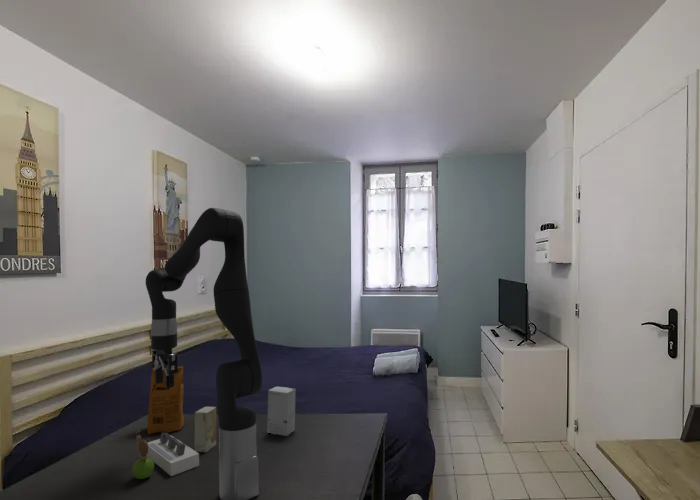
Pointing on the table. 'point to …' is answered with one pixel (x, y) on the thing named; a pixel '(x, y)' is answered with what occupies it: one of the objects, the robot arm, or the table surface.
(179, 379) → the coffee package
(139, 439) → the snail figurine
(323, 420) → the table surface
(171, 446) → the breaker paddles
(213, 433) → the skincare box
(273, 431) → the skincare box
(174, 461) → the strip
